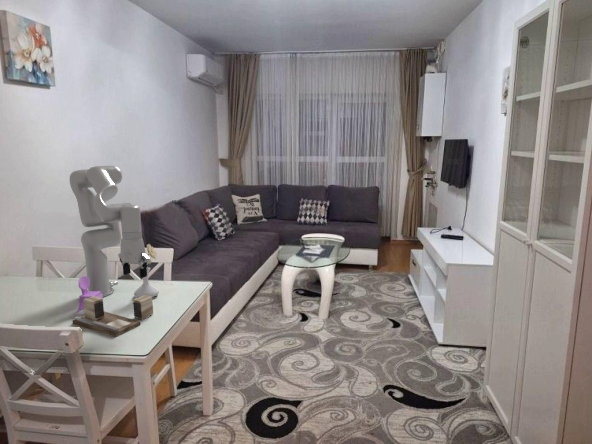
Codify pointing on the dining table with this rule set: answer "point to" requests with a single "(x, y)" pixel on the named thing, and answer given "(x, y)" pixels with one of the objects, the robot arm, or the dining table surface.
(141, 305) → the wooden block
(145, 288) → the flower in vase
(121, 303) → the dining table surface
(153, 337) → the dining table surface
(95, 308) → the rail board
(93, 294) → the toy chair
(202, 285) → the dining table surface
